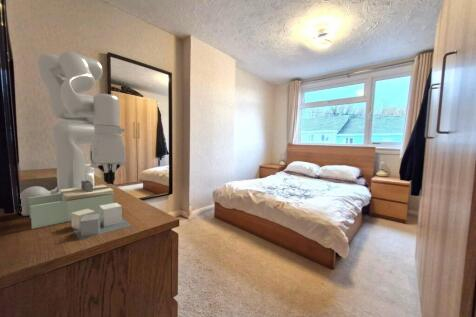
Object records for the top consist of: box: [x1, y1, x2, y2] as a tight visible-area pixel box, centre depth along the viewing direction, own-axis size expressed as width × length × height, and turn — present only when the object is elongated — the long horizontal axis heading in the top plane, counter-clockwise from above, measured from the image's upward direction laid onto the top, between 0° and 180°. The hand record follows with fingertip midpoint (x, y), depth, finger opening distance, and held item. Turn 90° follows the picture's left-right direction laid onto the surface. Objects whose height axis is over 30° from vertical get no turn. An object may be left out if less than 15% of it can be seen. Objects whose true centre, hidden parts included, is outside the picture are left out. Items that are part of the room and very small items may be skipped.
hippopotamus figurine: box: [19, 185, 60, 217], centre depth 69 cm, size 8×12×9 cm, turn 139°
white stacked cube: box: [99, 202, 123, 227], centre depth 60 cm, size 4×4×5 cm
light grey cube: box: [80, 214, 101, 237], centre depth 54 cm, size 4×4×4 cm
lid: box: [60, 179, 115, 200], centre depth 68 cm, size 12×12×4 cm
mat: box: [70, 217, 133, 241], centre depth 58 cm, size 12×12×1 cm
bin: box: [29, 193, 115, 230], centre depth 66 cm, size 12×20×6 cm, turn 137°
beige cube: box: [71, 209, 95, 230], centre depth 57 cm, size 4×4×4 cm
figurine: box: [84, 163, 95, 185], centre depth 79 cm, size 7×9×15 cm
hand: (109, 183), depth 73 cm, fingers closed
